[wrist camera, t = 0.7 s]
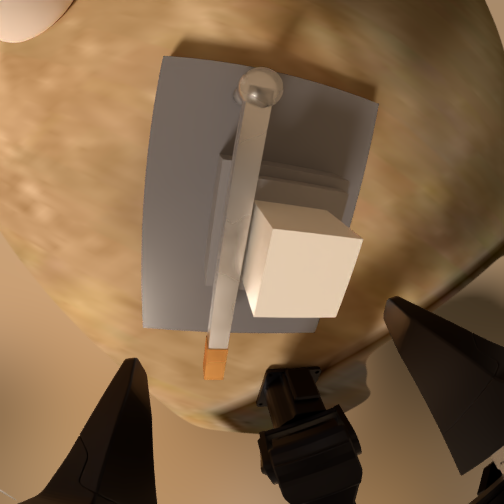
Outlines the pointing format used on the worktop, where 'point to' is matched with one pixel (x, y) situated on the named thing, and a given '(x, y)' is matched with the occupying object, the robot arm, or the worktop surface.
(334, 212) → the plug
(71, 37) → the worktop surface
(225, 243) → the latch bar
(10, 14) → the mug
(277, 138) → the socket block
